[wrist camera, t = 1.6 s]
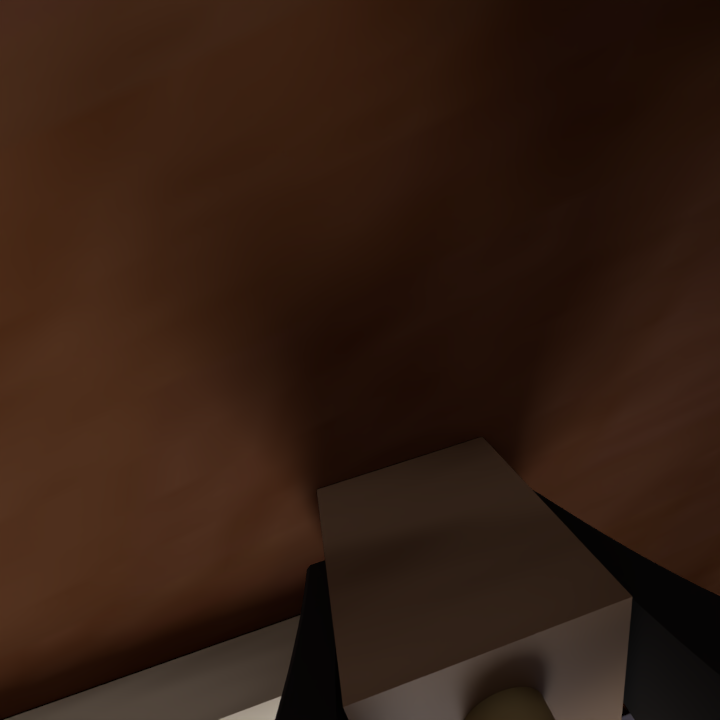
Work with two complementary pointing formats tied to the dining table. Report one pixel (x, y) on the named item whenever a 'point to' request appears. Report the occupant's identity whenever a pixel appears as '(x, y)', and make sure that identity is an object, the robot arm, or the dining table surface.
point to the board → (193, 684)
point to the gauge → (467, 597)
